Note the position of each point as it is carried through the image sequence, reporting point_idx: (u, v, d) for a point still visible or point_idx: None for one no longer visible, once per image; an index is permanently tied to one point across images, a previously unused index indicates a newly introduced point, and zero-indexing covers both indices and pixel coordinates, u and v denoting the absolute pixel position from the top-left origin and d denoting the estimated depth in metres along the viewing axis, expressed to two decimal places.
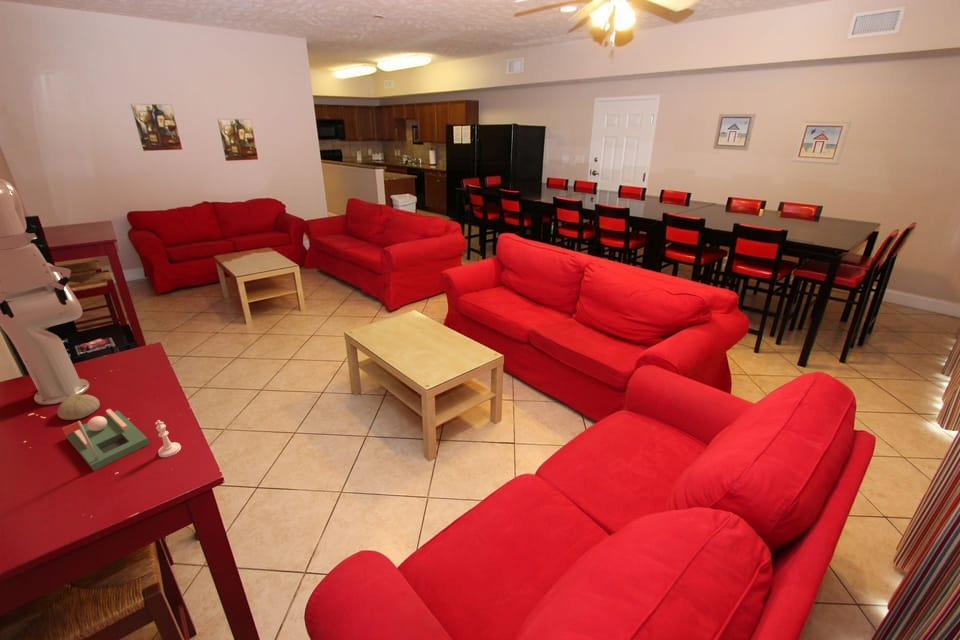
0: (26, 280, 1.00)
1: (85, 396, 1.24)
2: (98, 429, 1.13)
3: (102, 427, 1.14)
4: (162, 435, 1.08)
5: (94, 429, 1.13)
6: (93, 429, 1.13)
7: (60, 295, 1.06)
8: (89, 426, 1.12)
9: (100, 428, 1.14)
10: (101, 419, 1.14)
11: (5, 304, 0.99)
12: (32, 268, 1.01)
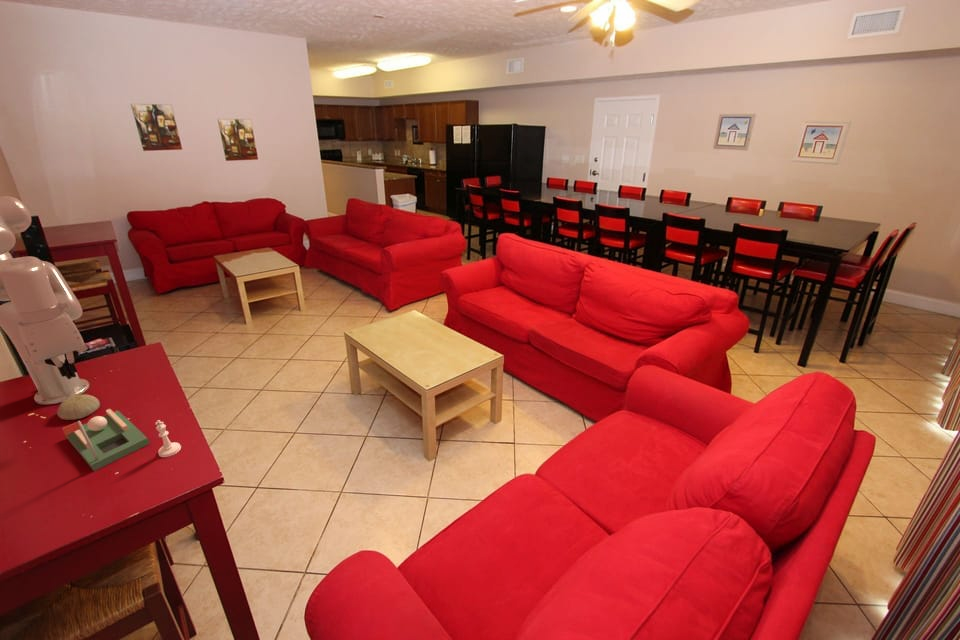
0: (59, 347, 1.07)
1: (85, 396, 1.24)
2: (98, 429, 1.13)
3: (102, 427, 1.14)
4: (162, 435, 1.08)
5: (94, 429, 1.13)
6: (93, 429, 1.13)
7: (70, 369, 1.10)
8: (89, 426, 1.12)
9: (100, 428, 1.14)
10: (101, 419, 1.14)
11: (64, 367, 1.09)
12: (65, 336, 1.07)
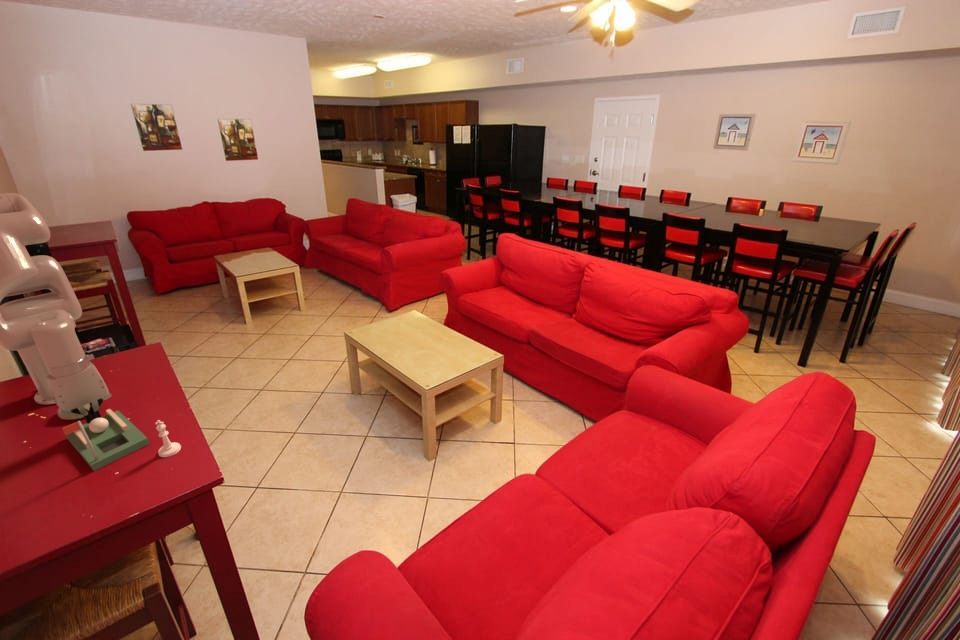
0: (85, 397, 1.11)
1: None
2: None
3: (104, 430, 1.14)
4: (162, 435, 1.08)
5: (96, 432, 1.13)
6: (95, 431, 1.13)
7: (95, 416, 1.14)
8: (91, 429, 1.12)
9: (102, 431, 1.13)
10: (104, 422, 1.13)
11: (90, 415, 1.13)
12: (91, 386, 1.11)
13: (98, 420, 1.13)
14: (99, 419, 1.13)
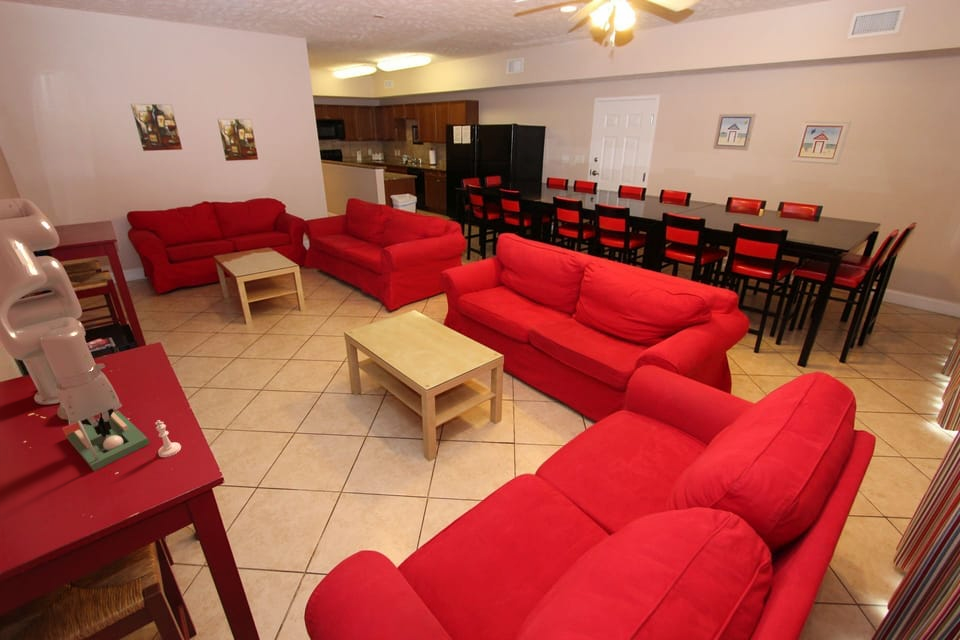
0: (95, 407, 1.07)
1: None
2: (107, 438, 1.09)
3: (111, 436, 1.10)
4: (162, 435, 1.08)
5: None
6: (104, 441, 1.09)
7: (105, 427, 1.11)
8: None
9: None
10: None
11: (100, 426, 1.10)
12: (101, 396, 1.08)
13: None
14: None
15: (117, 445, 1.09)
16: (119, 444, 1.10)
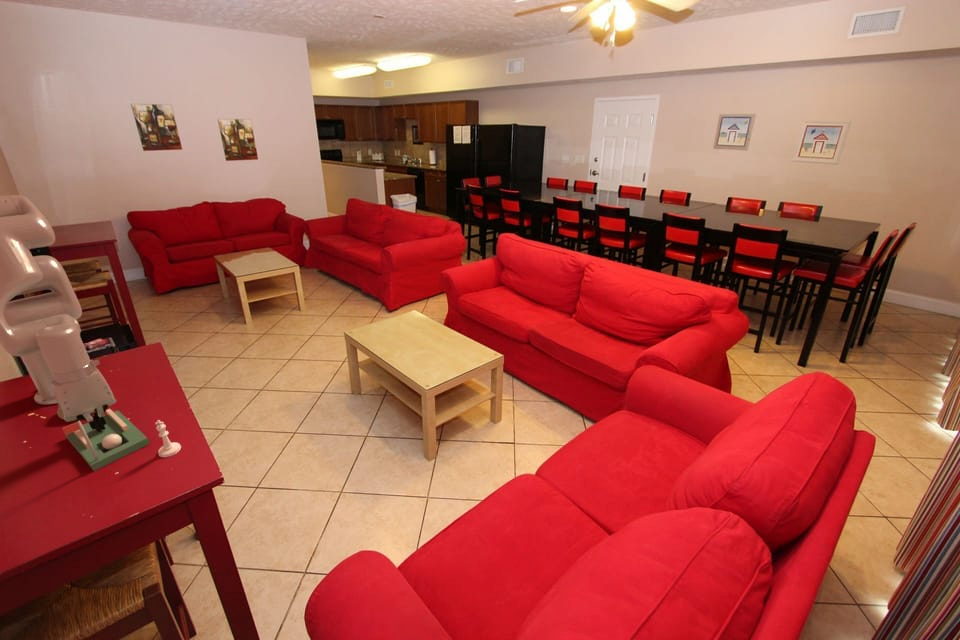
0: (90, 403, 1.09)
1: None
2: None
3: None
4: (162, 435, 1.08)
5: (103, 439, 1.10)
6: (102, 440, 1.10)
7: (100, 422, 1.13)
8: None
9: None
10: None
11: (95, 421, 1.12)
12: (96, 392, 1.10)
13: None
14: None
15: (114, 440, 1.10)
16: (116, 440, 1.10)
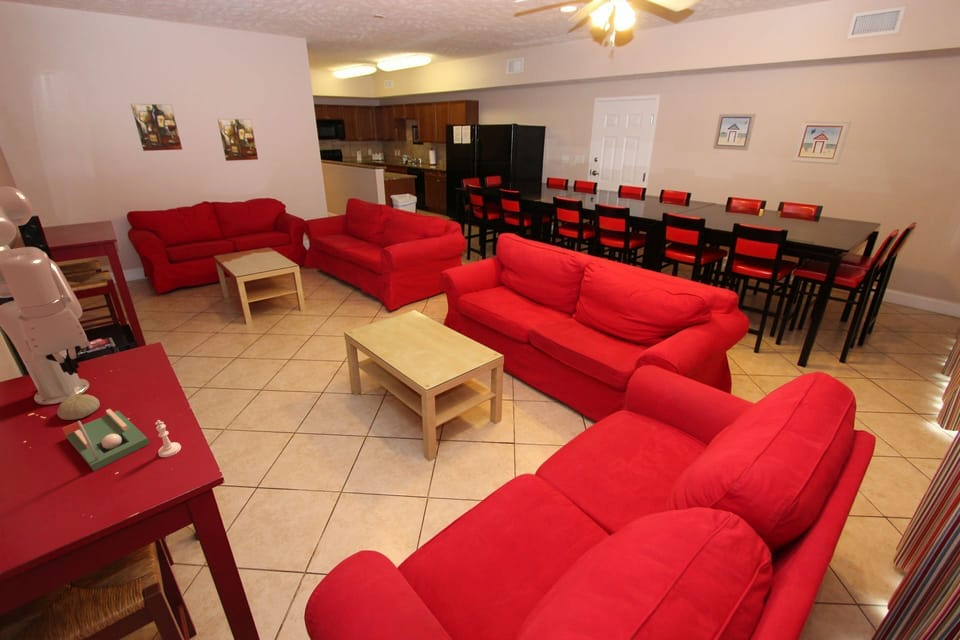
0: (61, 342, 1.03)
1: (85, 396, 1.24)
2: None
3: None
4: (162, 435, 1.08)
5: None
6: (102, 440, 1.10)
7: (72, 364, 1.06)
8: None
9: None
10: None
11: (66, 363, 1.05)
12: (67, 331, 1.03)
13: None
14: None
15: (114, 440, 1.10)
16: (116, 439, 1.10)
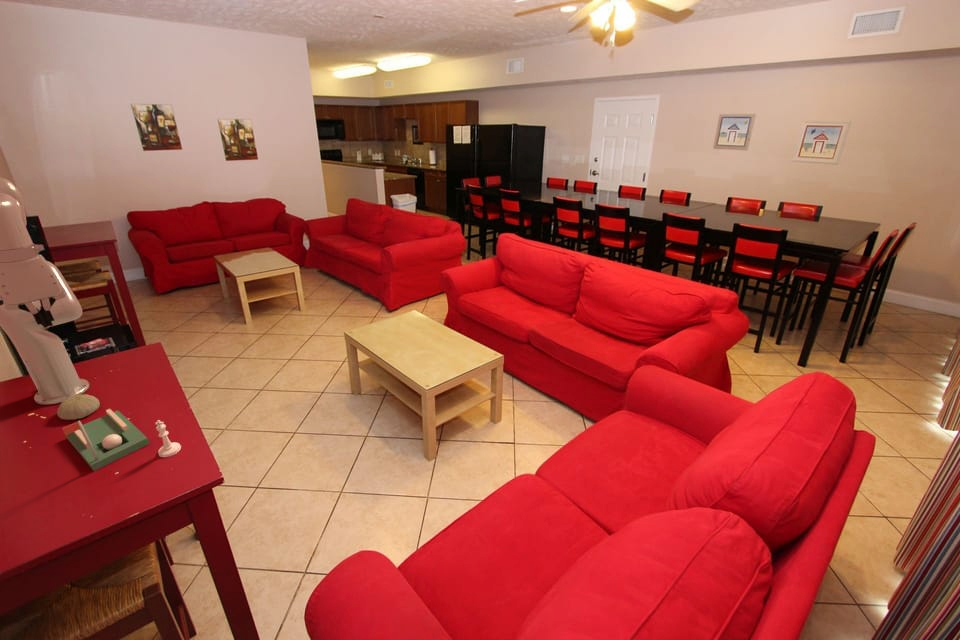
0: (33, 291, 1.00)
1: (85, 396, 1.24)
2: (106, 436, 1.10)
3: (110, 435, 1.11)
4: (162, 435, 1.08)
5: None
6: (103, 440, 1.10)
7: (46, 316, 1.03)
8: None
9: (108, 435, 1.11)
10: None
11: (40, 314, 1.02)
12: (40, 280, 1.00)
13: None
14: None
15: (115, 441, 1.10)
16: (117, 440, 1.10)
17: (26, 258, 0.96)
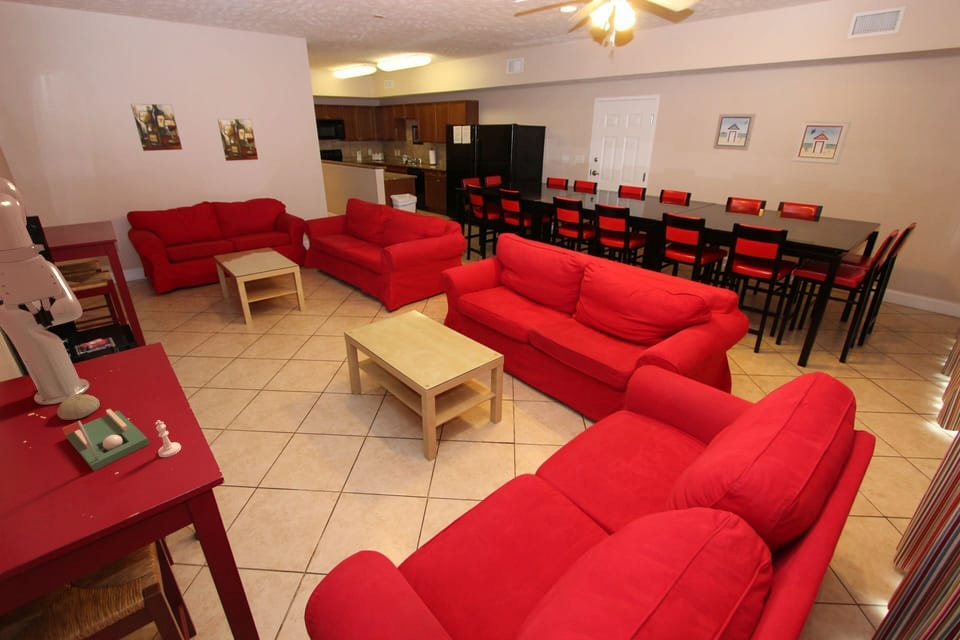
0: (33, 291, 1.00)
1: (85, 396, 1.24)
2: (106, 437, 1.10)
3: (110, 435, 1.11)
4: (162, 435, 1.08)
5: (104, 440, 1.10)
6: None
7: (46, 316, 1.03)
8: None
9: (108, 436, 1.10)
10: None
11: (40, 314, 1.02)
12: (40, 280, 1.00)
13: None
14: None
15: (116, 443, 1.10)
16: (118, 442, 1.10)
17: (26, 258, 0.96)
